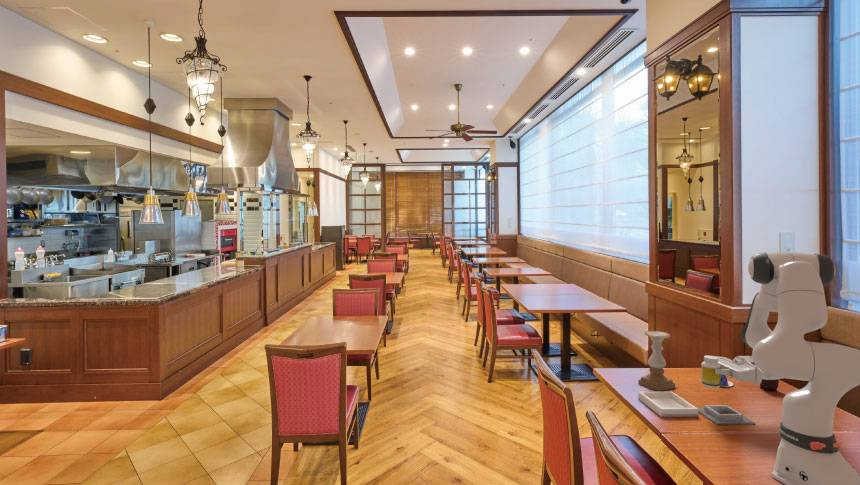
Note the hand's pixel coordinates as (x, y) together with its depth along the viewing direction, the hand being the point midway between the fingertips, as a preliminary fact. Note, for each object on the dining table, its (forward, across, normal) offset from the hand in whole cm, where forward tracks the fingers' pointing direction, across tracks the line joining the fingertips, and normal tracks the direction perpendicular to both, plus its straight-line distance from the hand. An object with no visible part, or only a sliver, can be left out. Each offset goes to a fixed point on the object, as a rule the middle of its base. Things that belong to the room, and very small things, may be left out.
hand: (708, 368), depth 169 cm
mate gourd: (-42, -25, +18) cm, 52 cm away
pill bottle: (-1, 0, +7) cm, 7 cm away
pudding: (-26, -34, +18) cm, 47 cm away
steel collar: (-4, +2, +18) cm, 18 cm away
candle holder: (+4, -31, +18) cm, 36 cm away
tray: (+12, -7, +18) cm, 23 cm away
